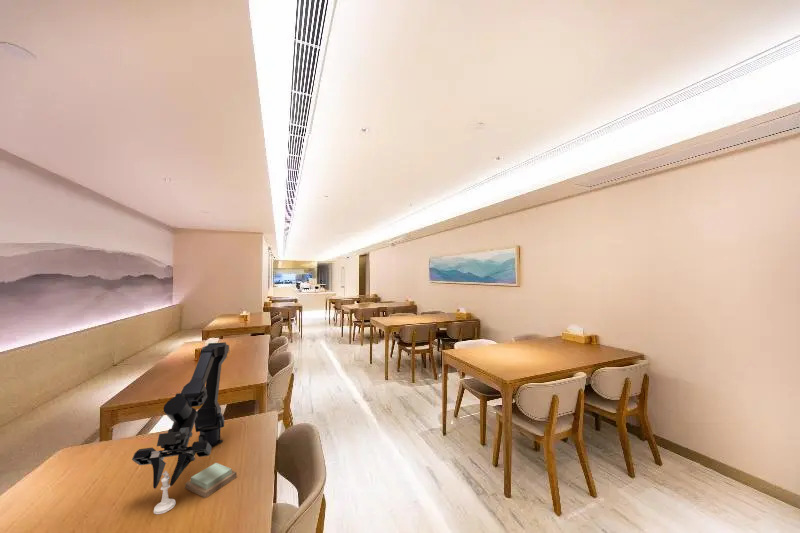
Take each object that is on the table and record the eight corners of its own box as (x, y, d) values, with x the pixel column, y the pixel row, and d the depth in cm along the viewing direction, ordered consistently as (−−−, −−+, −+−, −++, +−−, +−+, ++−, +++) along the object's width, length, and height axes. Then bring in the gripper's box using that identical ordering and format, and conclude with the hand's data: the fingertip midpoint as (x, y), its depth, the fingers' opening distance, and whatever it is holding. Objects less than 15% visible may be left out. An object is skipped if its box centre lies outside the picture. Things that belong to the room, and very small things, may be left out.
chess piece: (163, 515, 80) (164, 478, 81) (148, 513, 81) (149, 475, 82) (180, 502, 85) (180, 466, 85) (166, 499, 86) (167, 465, 86)
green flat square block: (216, 469, 100) (217, 460, 100) (236, 477, 96) (236, 467, 96) (185, 488, 91) (185, 478, 91) (205, 497, 86) (205, 487, 87)
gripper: (137, 421, 86) (108, 486, 74) (208, 413, 90) (192, 473, 79) (151, 435, 93) (127, 495, 82) (217, 427, 97) (203, 483, 86)
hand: (162, 486), depth 82 cm, fingers open, 4 cm apart
